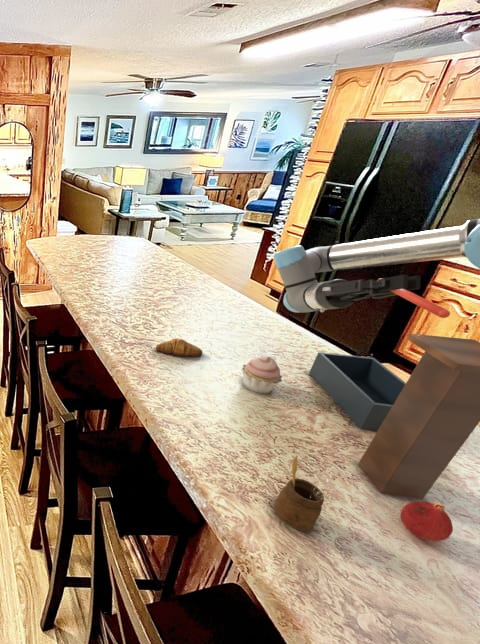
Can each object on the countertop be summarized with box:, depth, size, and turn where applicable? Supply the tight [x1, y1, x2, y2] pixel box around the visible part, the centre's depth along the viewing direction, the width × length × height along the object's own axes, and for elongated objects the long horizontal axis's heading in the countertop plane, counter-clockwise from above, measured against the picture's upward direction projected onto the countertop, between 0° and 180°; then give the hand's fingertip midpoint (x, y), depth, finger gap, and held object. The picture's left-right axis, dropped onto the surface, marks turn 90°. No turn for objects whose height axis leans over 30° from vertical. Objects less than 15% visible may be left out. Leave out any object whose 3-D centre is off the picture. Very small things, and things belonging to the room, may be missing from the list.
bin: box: [308, 351, 407, 432], centre depth 97 cm, size 23×14×8 cm, turn 170°
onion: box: [400, 500, 454, 542], centre depth 65 cm, size 6×6×8 cm
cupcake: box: [241, 355, 283, 395], centre depth 101 cm, size 9×9×10 cm
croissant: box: [155, 338, 203, 358], centre depth 117 cm, size 14×7×5 cm, turn 80°
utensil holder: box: [273, 454, 335, 532], centre depth 67 cm, size 6×6×12 cm
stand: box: [357, 333, 480, 500], centre depth 71 cm, size 10×10×30 cm
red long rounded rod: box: [376, 277, 451, 319], centre depth 79 cm, size 18×2×2 cm, turn 170°
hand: (411, 281), depth 79 cm, fingers closed on red long rounded rod, 1 cm apart
